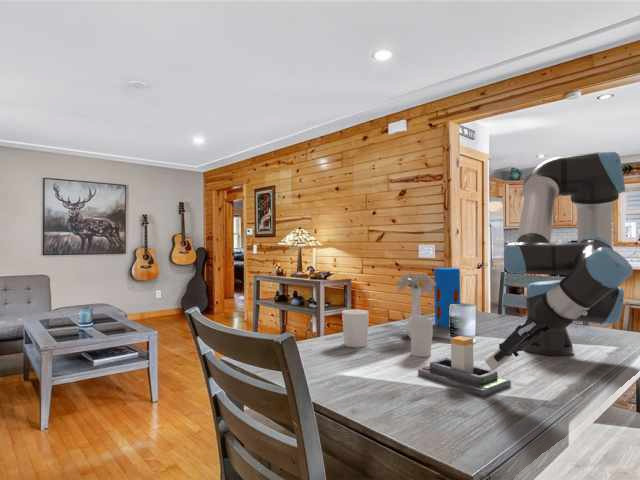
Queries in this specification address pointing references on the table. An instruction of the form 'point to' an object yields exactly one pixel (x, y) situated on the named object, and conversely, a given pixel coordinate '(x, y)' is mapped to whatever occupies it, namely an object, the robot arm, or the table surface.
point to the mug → (421, 336)
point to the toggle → (462, 353)
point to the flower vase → (415, 293)
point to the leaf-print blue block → (445, 293)
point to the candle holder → (355, 327)
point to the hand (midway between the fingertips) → (490, 365)
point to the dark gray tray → (465, 378)
